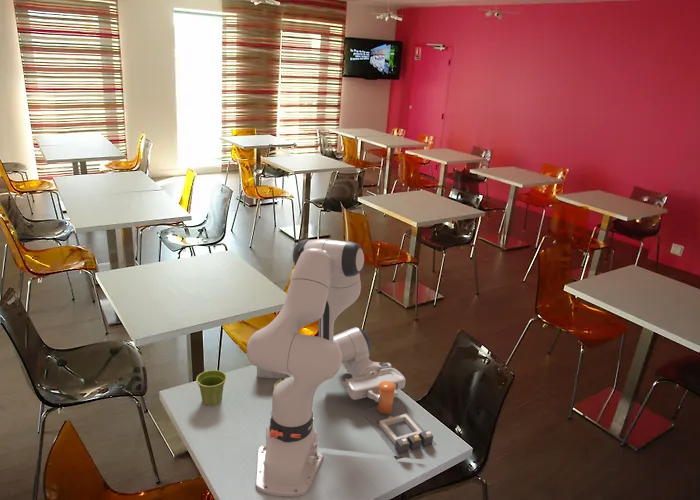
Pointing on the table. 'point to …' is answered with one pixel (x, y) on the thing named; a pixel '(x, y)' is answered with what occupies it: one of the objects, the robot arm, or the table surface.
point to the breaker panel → (399, 430)
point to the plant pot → (211, 386)
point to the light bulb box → (270, 374)
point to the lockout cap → (386, 397)
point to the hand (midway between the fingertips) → (387, 397)
